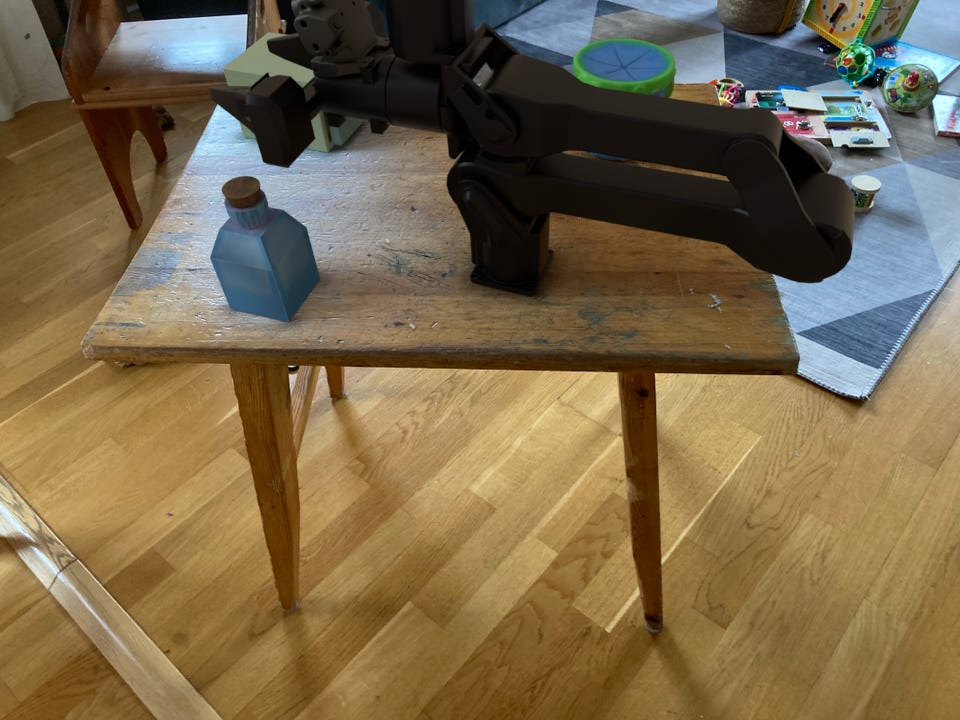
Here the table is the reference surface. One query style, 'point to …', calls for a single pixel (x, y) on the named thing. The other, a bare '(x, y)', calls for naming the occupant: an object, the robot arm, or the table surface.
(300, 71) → the cabinet
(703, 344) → the table surface
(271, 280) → the perfume bottle
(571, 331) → the table surface
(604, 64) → the snack cup
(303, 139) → the robot arm
